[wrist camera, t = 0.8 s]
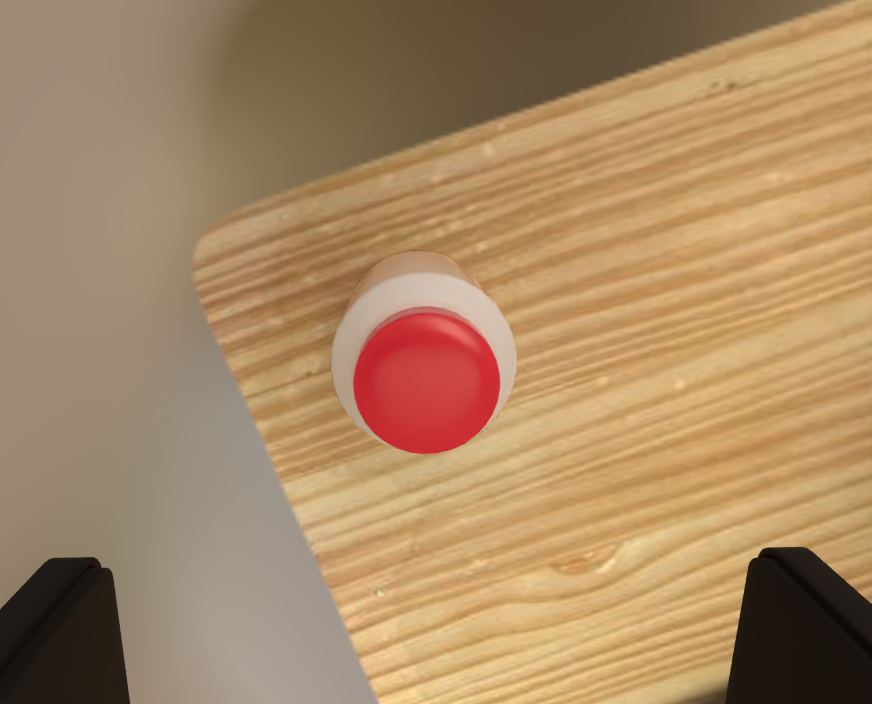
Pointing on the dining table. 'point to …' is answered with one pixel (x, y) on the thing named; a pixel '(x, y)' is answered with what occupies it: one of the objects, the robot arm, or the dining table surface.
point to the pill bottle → (422, 354)
